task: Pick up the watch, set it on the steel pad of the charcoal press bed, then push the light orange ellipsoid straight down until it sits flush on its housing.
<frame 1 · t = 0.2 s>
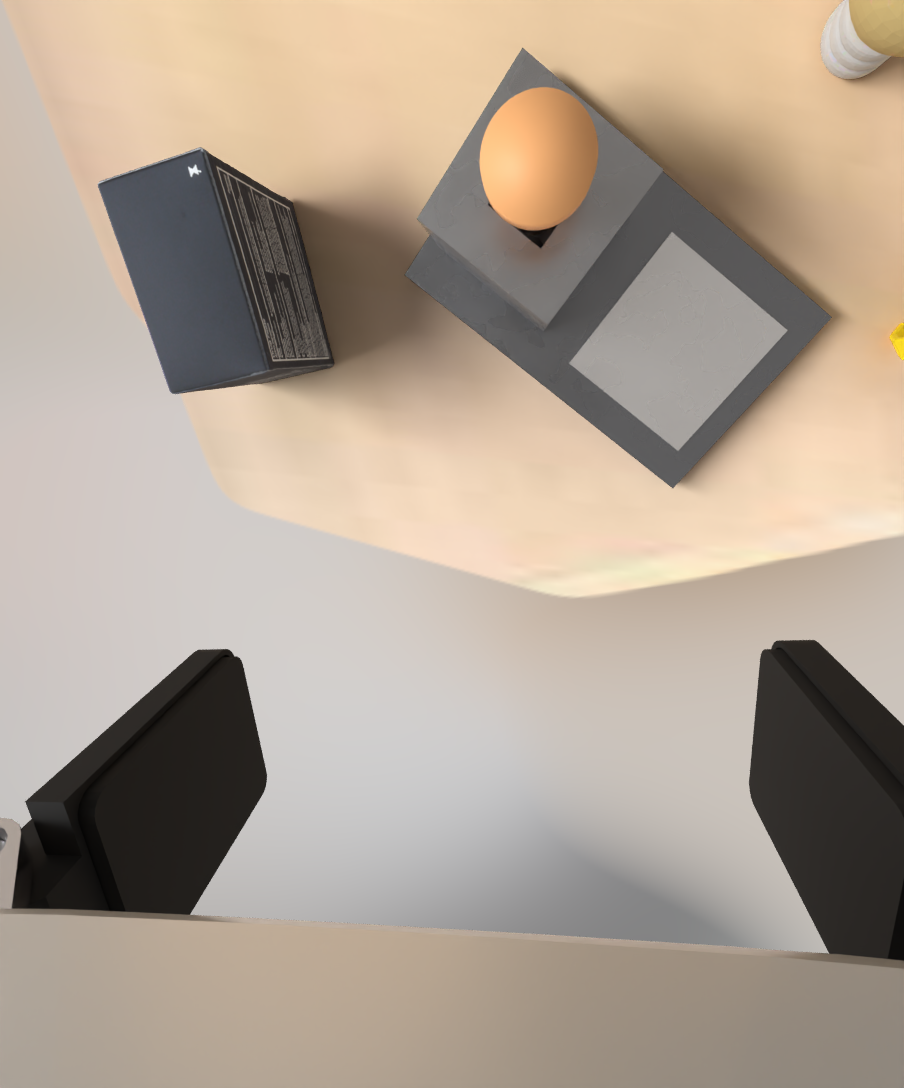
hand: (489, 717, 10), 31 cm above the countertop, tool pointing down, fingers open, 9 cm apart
light orange ellipsoid: (536, 186, 25), point 11 cm above the countertop, slide at 0.0 cm
light bulb: (850, 44, 30), on the countertop
press: (608, 297, 36), on the countertop
small box: (273, 298, 38), on the countertop
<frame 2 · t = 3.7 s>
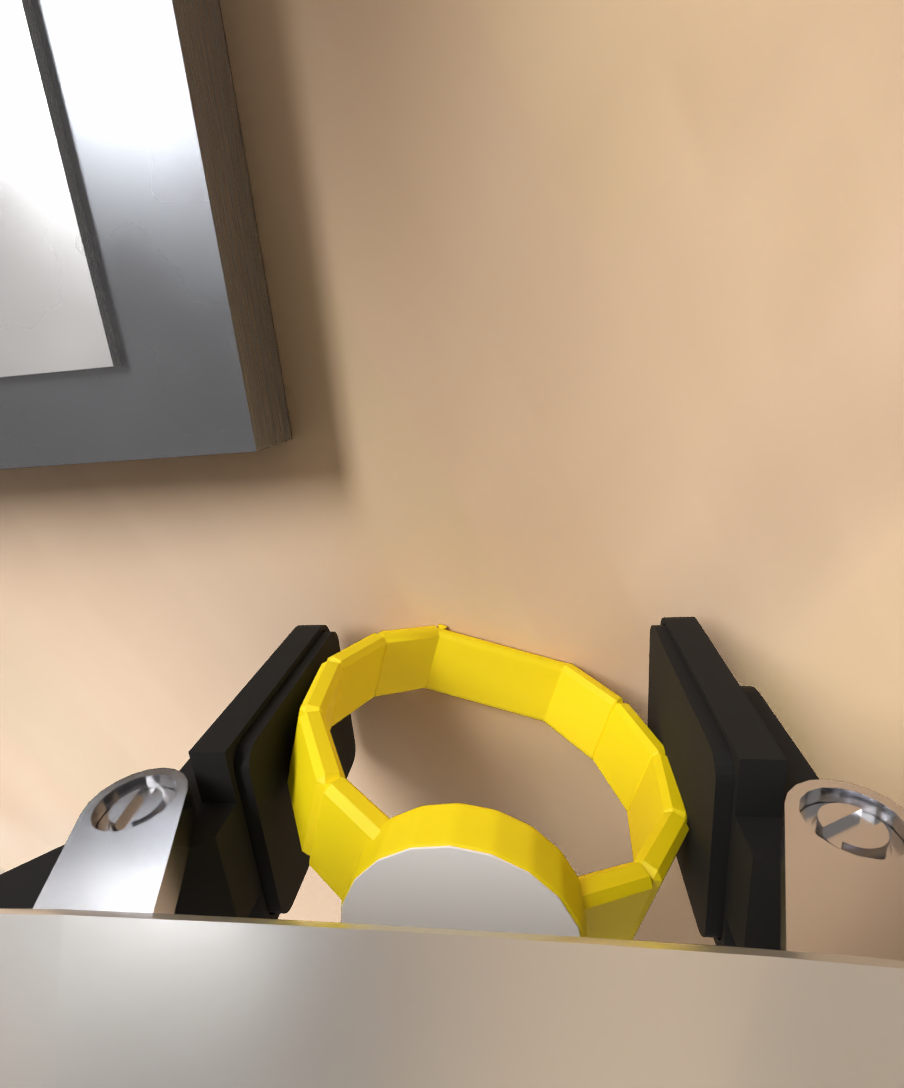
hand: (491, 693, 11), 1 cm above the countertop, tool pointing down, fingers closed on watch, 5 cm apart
watch: (494, 666, 12), on the countertop, touching gripper
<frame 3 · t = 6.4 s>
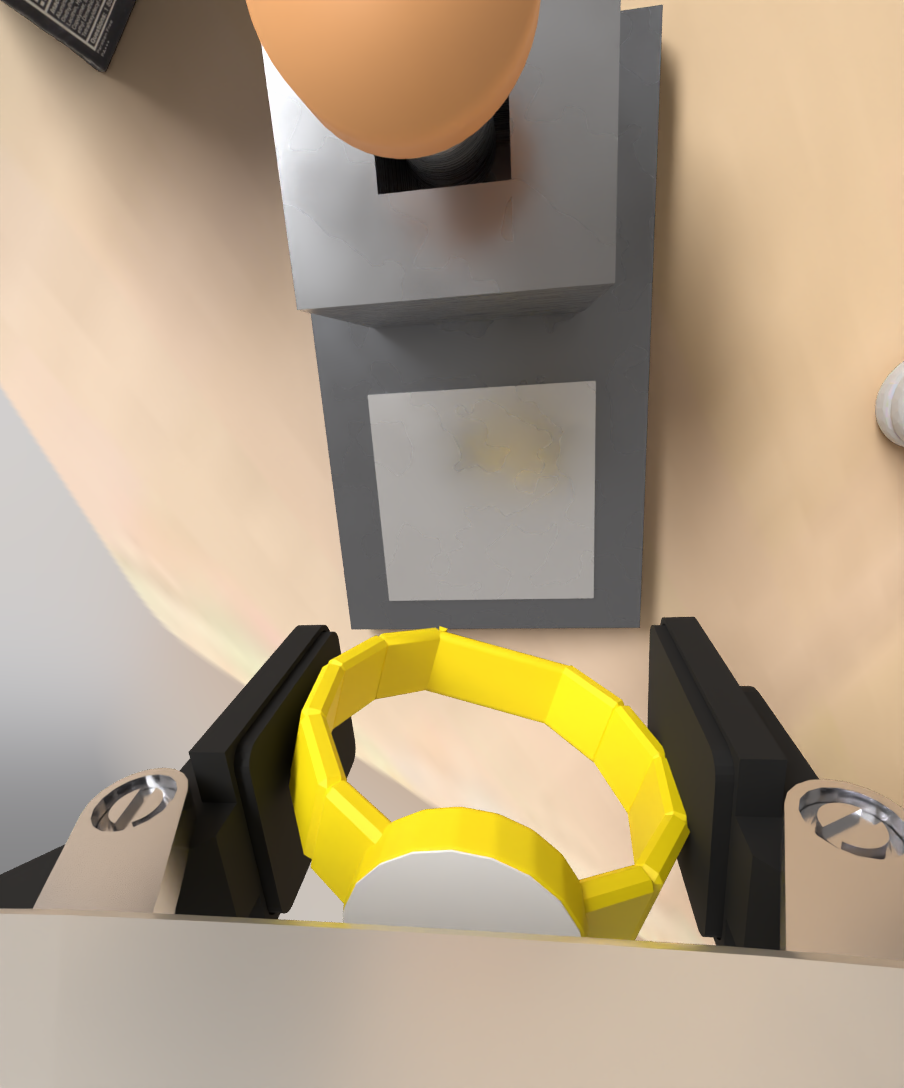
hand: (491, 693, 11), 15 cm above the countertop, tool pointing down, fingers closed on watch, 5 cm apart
light orange ellipsoid: (429, 79, 12), point 11 cm above the countertop, slide at 0.0 cm
watch: (495, 668, 12), point 14 cm above the countertop, touching gripper
press: (481, 374, 24), on the countertop
when the fingers open (3 cm above the countertop, at t = 9.3 s): watch stays where it is, resting on press.
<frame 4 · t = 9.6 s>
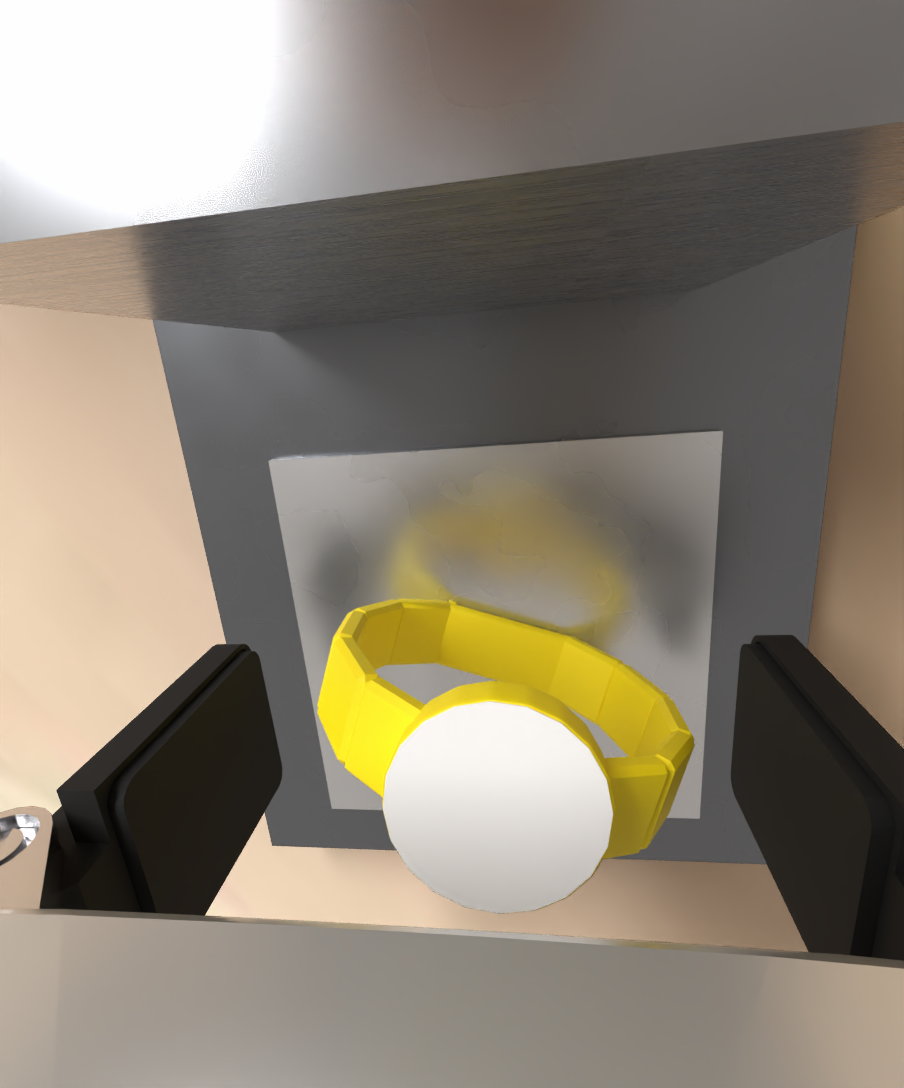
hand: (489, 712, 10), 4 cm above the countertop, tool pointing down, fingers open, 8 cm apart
watch: (500, 643, 13), point 2 cm above the countertop, touching press
press: (486, 413, 13), on the countertop
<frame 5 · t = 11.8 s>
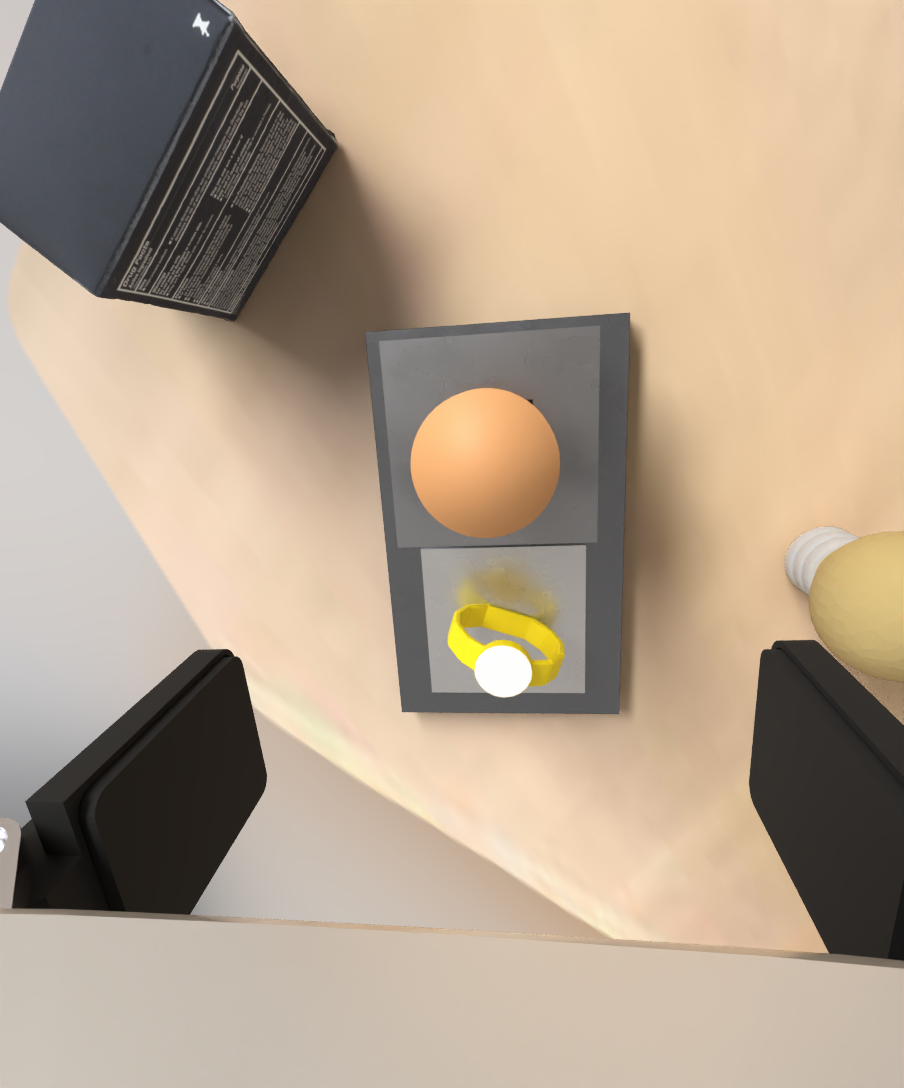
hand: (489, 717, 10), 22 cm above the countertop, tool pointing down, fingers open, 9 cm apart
light orange ellipsoid: (489, 449, 20), point 11 cm above the countertop, slide at 0.0 cm
light bulb: (813, 555, 31), on the countertop
watch: (506, 619, 32), point 1 cm above the countertop, touching press
press: (502, 530, 32), on the countertop
small box: (236, 198, 29), on the countertop
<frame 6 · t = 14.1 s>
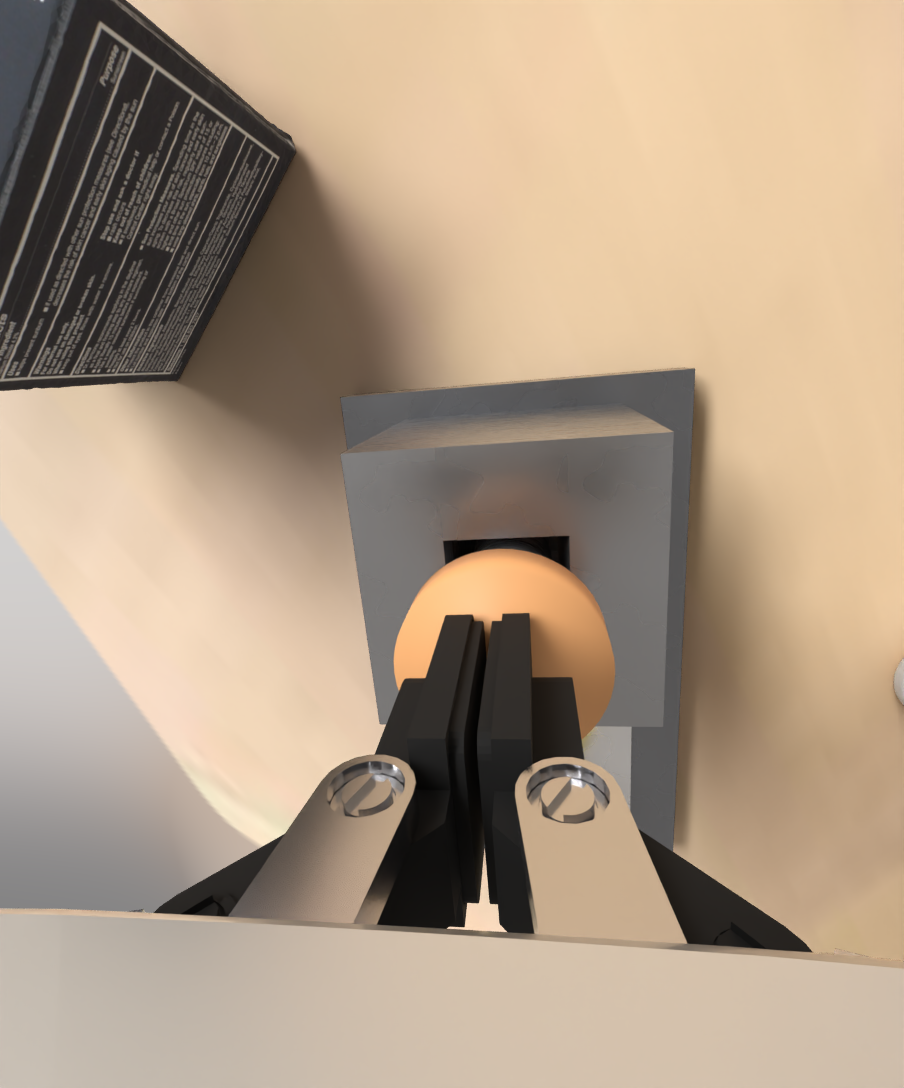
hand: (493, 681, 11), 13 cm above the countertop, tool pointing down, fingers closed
light orange ellipsoid: (508, 595, 15), point 9 cm above the countertop, slide at 1.4 cm, touching gripper
press: (523, 633, 26), on the countertop
small box: (170, 224, 22), on the countertop
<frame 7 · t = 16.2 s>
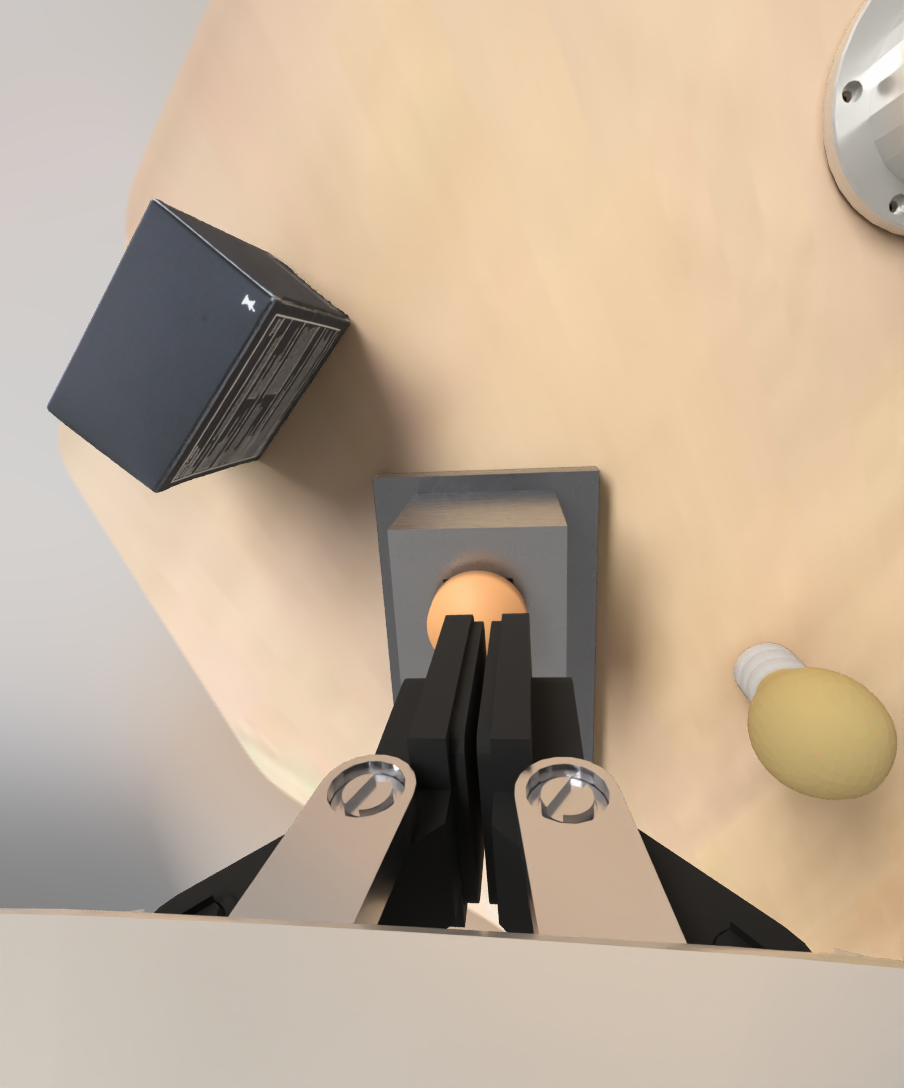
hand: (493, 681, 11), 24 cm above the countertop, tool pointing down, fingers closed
light orange ellipsoid: (481, 594, 28), point 7 cm above the countertop, slide at 3.4 cm
light bulb: (759, 663, 36), on the countertop
press: (490, 637, 37), on the countertop
small box: (261, 359, 34), on the countertop
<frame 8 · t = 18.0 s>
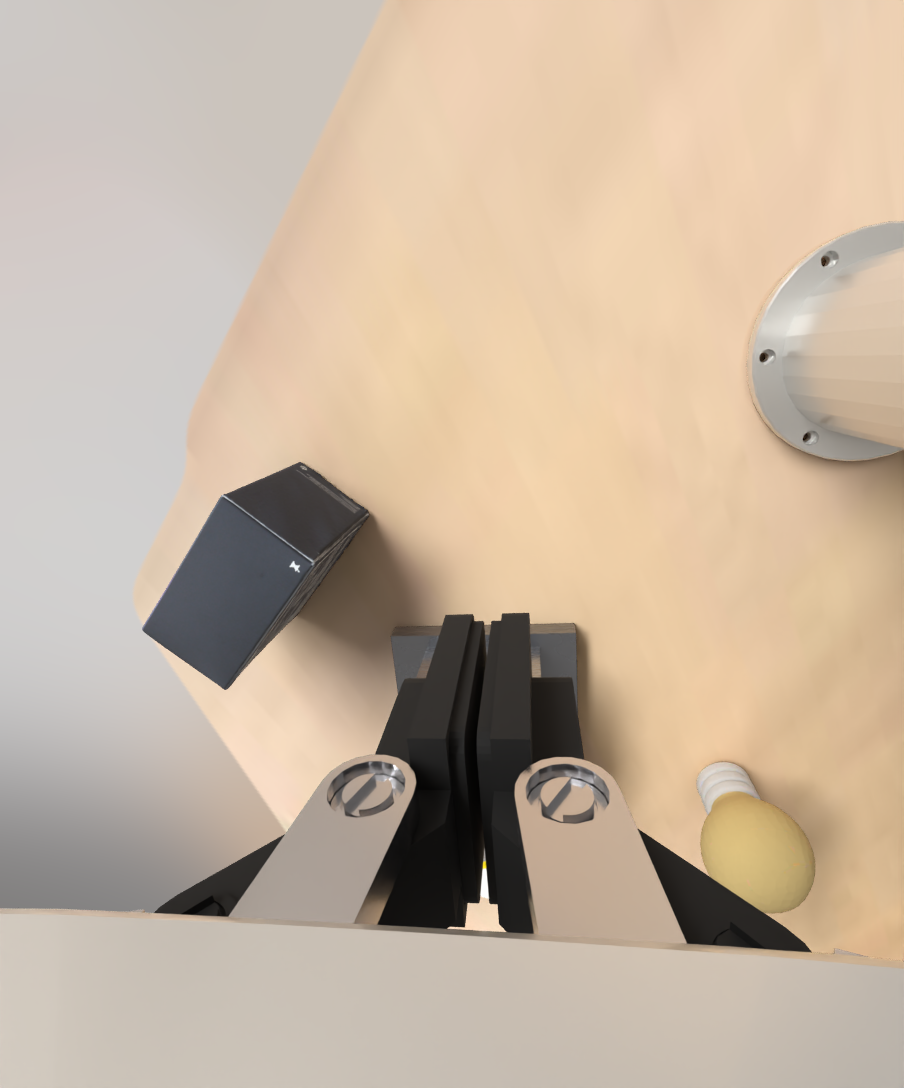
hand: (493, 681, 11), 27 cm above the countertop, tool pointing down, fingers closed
light bulb: (719, 775, 43), on the countertop
press: (492, 752, 44), on the countertop
small box: (297, 539, 41), on the countertop
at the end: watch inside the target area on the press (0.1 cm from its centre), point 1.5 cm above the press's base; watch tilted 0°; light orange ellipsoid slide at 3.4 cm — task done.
